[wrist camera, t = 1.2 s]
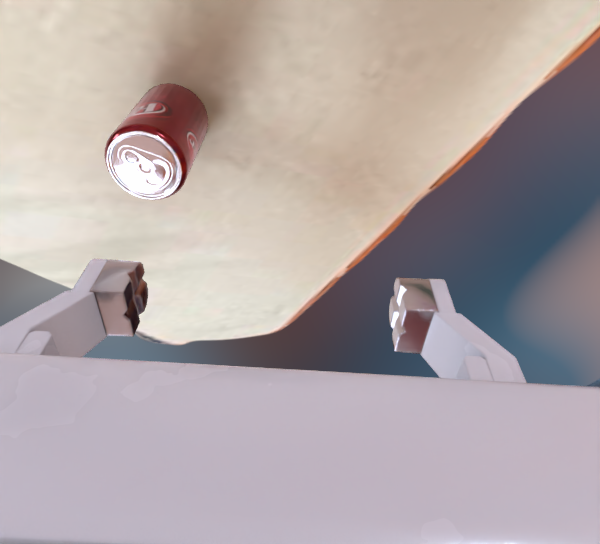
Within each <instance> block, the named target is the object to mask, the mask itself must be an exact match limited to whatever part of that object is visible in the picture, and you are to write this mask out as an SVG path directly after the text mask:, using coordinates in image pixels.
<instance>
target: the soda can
mask: <svg viewBox="0 0 600 544" xmlns="http://www.w3.org/2000/svg"><path fill="white" fill-rule="evenodd" d="M207 129H208V116H207V112H206V109H205V107H204V105H203V104H202V102H201V101H200V99H199V98H198V97H197V96H196V95H195V94H194V93H193V92H191V91H190V90H189V89H187V88H185V87H183V86H180V85H176V84H169V83H167V84H160V85H157V86H155V87H153V88H151V89H150V90H149V91H148V92H147V93H146V94H145V95H144V96H143V97H142V98H141V100H140V101H139V102H138V103H137V104H136V106H135V107H134V108H133V109H132V110H131V112H130V113H129V114H128V115H127V117H126V118H125V119H124V120H123V121H122V123H121V124H120V125H119V126H118V127H117V129H116V130H115V131H114V132H113V134H112V135H111V136H110V138H109V139H108V141H107V144H106V147H105V161H106V165H107V168H108V171H109V173H110V174H111V176H112V177H113V179H114V180H115V181H116V182H117V183H118V185H120V186H121V187H122V188H123V189H124V190H126V191H127V192H129V193H130V194H133V195H135V196H137V197H140V198H144V199H151V200H157V199H163V198H167V197H169V196H171V195H173V194H175V193H176V192H178V191H179V190H180V189H181V187H182V186H183V185H184V183H185V180H186V178H187V176H188V174H189V171H190V169H191V167H192V165H193V162H194V160H195V158H196V156H197V153H198V151H199V149H200V147H201V144H202V142H203V140H204V138H205V135H206V133H207Z"/></svg>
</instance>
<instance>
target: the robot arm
mask: <svg viewBox="0 0 600 544" xmlns="http://www.w3.org/2000/svg"><path fill="white" fill-rule="evenodd" d="M143 275H144V268H143V264H142V263H141V262H133V261H121V260H106V259H92V260H91V261H90V262H89V264H88V265H87V267H86V268H85V270H84V272H83V273H82V275H81V276H80V278H79V280H78V281H77V283H76V284H75V286H74V288H73V289H72V291H65V292H63V293H61V294H60V295H58V296H56V297H54V298H52V299H50V300H49V301H47V302H45V303H43V304H41V305H39V306H38V307H36V308H34V309H32V310H30V311H28V312H27V313H25V314H23V315H21V316H19V317H17V318H16V319H14V320H12V321H10V322H8V323H6V324H5V325H3V326H1V327H0V544H600V387H588V386H570V385H552V384H535V383H526V380H525V378H524V376H523V373H522V371H521V369H520V367H519V364H518V362H517V359H516V357H514V356H513V355H512V354H510V353H509V352H508V351H507V350H505V349H504V348H503V347H502V346H500V345H499V344H498V343H497V342H495V341H494V340H493V339H492V338H490V337H489V336H488V335H487V334H485V333H484V332H483V331H482V330H480V329H479V328H478V327H476V326H475V325H474V324H473V323H471V322H470V321H469V320H468V319H467V318H465V317H464V316H463V315H462V314H457V313H456V311H455V308H454V305H453V302H452V299H451V296H450V294H449V291H448V288H447V285H446V282H445V281H444V280H443V279H412V278H396V281H395V284H394V292H395V295H394V296H393V297H392V298H391V301H390V307H389V321H390V326H391V327H392V328H393V329H394V330H393V334H392V339H393V345H394V350H395V352H406V353H419V354H421V356H422V357H423V358H424V359H425V360H426V362H427V363H428V364H429V365H430V366H431V367H432V369H433V370H434V371H435V372H436V373H437V374H438V376H439V377H440V378H430V377H414V376H396V375H378V374H361V373H344V372H327V371H326V372H325V371H309V370H292V369H274V368H254V367H239V366H221V365H203V364H188V363H187V364H186V363H169V362H153V361H136V360H119V359H100V358H84V357H83V356H84V355H85V354H86V353H88V352H89V351H90V350H91V349H92V348H94V347H95V346H96V345H97V344H98V343H100V341H102V340H103V339H105V338H106V337H107V336H106V335H109V336H110V335H111V336H134V334H135V332H136V329H137V327H138V324H139V322H140V320H139V314H141V313H142V312H144V310H145V307H146V305H147V299H148V288H147V283H146V282H145V281H144V280H143V279H142V277H143Z"/></svg>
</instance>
